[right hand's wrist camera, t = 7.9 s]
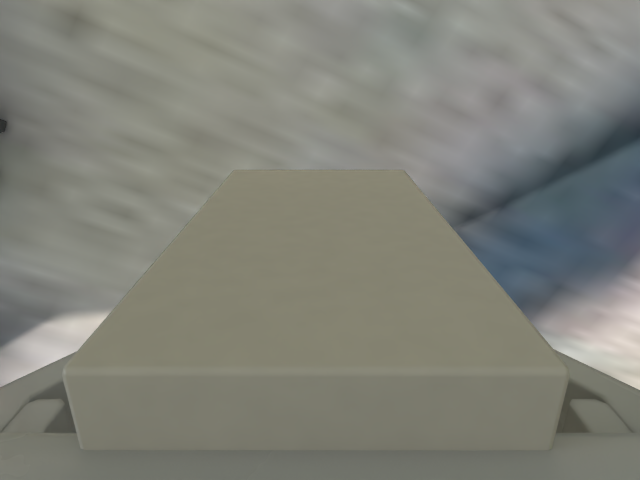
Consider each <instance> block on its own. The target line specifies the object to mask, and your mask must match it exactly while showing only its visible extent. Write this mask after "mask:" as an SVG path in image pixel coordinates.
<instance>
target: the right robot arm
mask: <svg viewBox="0 0 640 480" xmlns="http://www.w3.org/2000/svg"><path fill="white" fill-rule="evenodd" d="M553 350H554V349H553ZM554 351H555V352H556V353H557V354H558V356H559V357H560V358H561V359H562V360H563V362H564V363H565V364H566V365H567V366H568V369H569V374H570V377H569V381H568V385H567V389H566V393H565V398H564V402H563V406H562V410H561V414H560V418H559V422H558V426H557V430H556V434H555V438H554V442H553V446H552V449H550V450H83V449H81V448H80V444H79V440H78V437H77V433H76V429H75V425H74V421H73V417H72V413H71V409H70V405H69V401H68V397H67V393H66V389H65V385H64V381H63V377H62V372H63V368H64V366H65V365H66V364H67V362H68V361H69V360H70V359H71V358H72V357H73V356H74V354H75V353H76V352H75V353H72V354H70V355H68V356H66V357H64V358H62V359H60V360H57V361H55V362H53V363H51V364H49V365H47V366H45V367H43V368H40V369H38V370H36V371H34V372H32V373H30V374H28V375H26V376H23V377H21V378H19V379H17V380H15V381H13V382H11V383H9V384H6V385H4V386H2V387H0V480H640V390H638V389H636V388H634V387H632V386H630V385H628V384H625V383H623V382H621V381H619V380H617V379H615V378H613V377H611V376H609V375H607V374H604V373H602V372H600V371H598V370H596V369H594V368H592V367H590V366H588V365H586V364H583V363H581V362H579V361H577V360H575V359H573V358H571V357H569V356H567V355H565V354H562V353H560V352H558V351H556V350H554Z"/></svg>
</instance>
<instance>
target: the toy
mask: <svg viewBox="0 0 640 480" xmlns="http://www.w3.org/2000/svg"><path fill="white" fill-rule="evenodd" d="M5 125H6V121H3V120H1V119H0V133H1V132H4V131H5Z"/></svg>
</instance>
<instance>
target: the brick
mask: <svg viewBox="0 0 640 480" xmlns="http://www.w3.org/2000/svg"><path fill="white" fill-rule="evenodd" d="M62 377H63V381H64V385H65V389H66V393H67V397H68V401H69V405H70V409H71V413H72V417H73V421H74V425H75V429H76V433H77V437H78V440H79V444H80V448H81V449H83V450H550V449H552V446H553V442H554V438H555V434H556V430H557V426H558V422H559V418H560V414H561V410H562V406H563V402H564V398H565V393H566V389H567V385H568V381H569V377H570V374H569V369H568V366H567V365H566V364H565V363H564V362H563V360H562V359H561V358H560V357H559V356H558V354H557V353H556V352H555V351H554V350H553V348H552V347H551V346H550V345H549V344H548V342H547V341H546V340H545V339H544V338H543V336H542V335H541V334H540V333H539V332H538V330H537V329H536V328H535V327H534V326H533V324H532V323H531V322H530V321H529V320H528V318H527V317H526V316H525V315H524V314H523V312H522V311H521V310H520V309H519V308H518V306H517V305H516V304H515V303H514V302H513V300H512V299H511V298H510V297H509V296H508V294H507V293H506V292H505V291H504V290H503V288H502V287H501V286H500V285H499V284H498V282H497V281H496V280H495V279H494V278H493V276H492V275H491V274H490V273H489V272H488V270H487V269H486V268H485V267H484V266H483V264H482V263H481V262H480V261H479V260H478V258H477V257H476V256H475V255H474V254H473V252H472V251H471V250H470V249H469V248H468V246H467V245H466V244H465V243H464V242H463V240H462V239H461V238H460V237H459V236H458V234H457V233H456V232H455V231H454V230H453V228H452V227H451V226H450V225H449V224H448V222H447V221H446V220H445V219H444V218H443V216H442V215H441V214H440V213H439V212H438V210H437V209H436V208H435V207H434V206H433V204H432V203H431V202H430V201H429V200H428V199H427V197H426V196H425V195H424V194H423V193H422V191H421V190H420V189H419V188H418V187H417V185H416V184H415V183H414V182H413V181H412V179H411V178H410V177H409V176H408V175H407V173H406V172H405V171H404V170H234V171H233V172H232V173H231V174H230V175H229V176H228V178H227V179H226V180H225V181H224V182H223V183H222V185H221V186H220V187H219V188H218V189H217V190H216V192H215V193H214V194H213V195H212V196H211V197H210V198H209V200H208V201H207V202H206V203H205V204H204V205H203V207H202V208H201V209H200V210H199V211H198V212H197V213H196V215H195V216H194V217H193V218H192V219H191V220H190V222H189V223H188V224H187V225H186V226H185V227H184V228H183V230H182V231H181V232H180V233H179V234H178V235H177V237H176V238H175V239H174V240H173V241H172V242H171V243H170V245H169V246H168V247H167V248H166V249H165V250H164V252H163V253H162V254H161V255H160V256H159V257H158V259H157V260H156V261H155V262H154V263H153V264H152V265H151V267H150V268H149V269H148V270H147V271H146V272H145V274H144V275H143V276H142V277H141V278H140V279H139V280H138V282H137V283H136V284H135V285H134V286H133V287H132V289H131V290H130V291H129V292H128V293H127V294H126V295H125V297H124V298H123V299H122V300H121V301H120V302H119V304H118V305H117V306H116V307H115V308H114V309H113V311H112V312H111V313H110V314H109V315H108V316H107V317H106V319H105V320H104V321H103V322H102V323H101V324H100V326H99V327H98V328H97V329H96V330H95V331H94V332H93V334H92V335H91V336H90V337H89V338H88V339H87V341H86V342H85V343H84V344H83V345H82V346H81V347H80V349H79V350H78V351H77V352H76V353H75V354H74V356H73V357H72V358H71V359H70V360H69V361H68V362H67V364H66V365H65V366H64V368H63V372H62Z"/></svg>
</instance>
